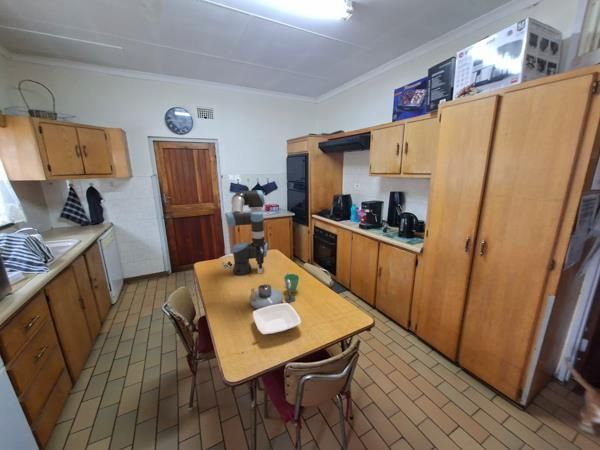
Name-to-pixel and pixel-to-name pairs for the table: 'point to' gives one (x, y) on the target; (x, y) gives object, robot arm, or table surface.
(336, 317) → the table surface
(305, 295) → the table surface
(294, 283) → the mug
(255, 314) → the bowl
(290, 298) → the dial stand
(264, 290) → the cover
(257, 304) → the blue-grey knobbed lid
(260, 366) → the table surface
